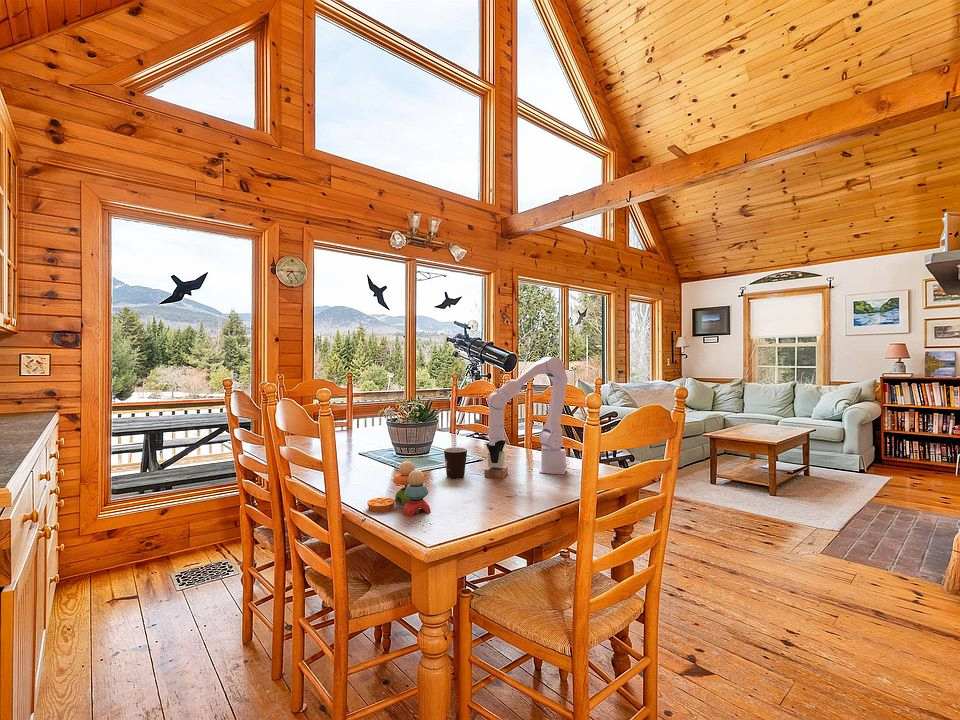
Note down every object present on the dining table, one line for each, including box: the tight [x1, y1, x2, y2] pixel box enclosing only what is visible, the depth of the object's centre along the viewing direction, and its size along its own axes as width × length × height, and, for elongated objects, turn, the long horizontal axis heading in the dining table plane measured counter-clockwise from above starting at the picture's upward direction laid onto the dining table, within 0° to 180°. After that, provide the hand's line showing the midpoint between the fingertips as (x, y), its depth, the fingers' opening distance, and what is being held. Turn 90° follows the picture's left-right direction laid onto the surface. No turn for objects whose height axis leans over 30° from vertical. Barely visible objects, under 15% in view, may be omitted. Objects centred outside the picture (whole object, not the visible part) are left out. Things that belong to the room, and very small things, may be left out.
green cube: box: [487, 451, 505, 468], centre depth 181 cm, size 5×5×5 cm
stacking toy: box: [366, 460, 431, 518], centre depth 143 cm, size 18×17×12 cm
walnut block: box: [484, 465, 509, 479], centre depth 181 cm, size 7×7×3 cm
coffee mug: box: [443, 446, 468, 480], centre depth 180 cm, size 12×9×10 cm
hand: (496, 461), depth 181 cm, fingers closed on green cube, 5 cm apart
